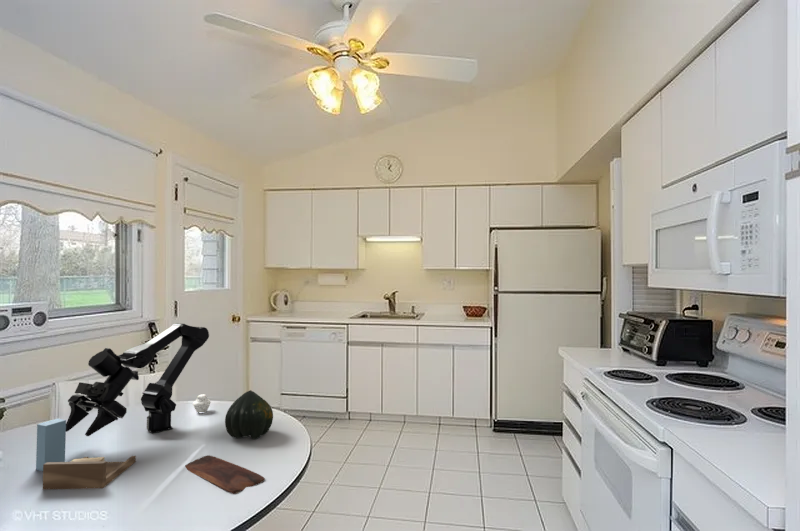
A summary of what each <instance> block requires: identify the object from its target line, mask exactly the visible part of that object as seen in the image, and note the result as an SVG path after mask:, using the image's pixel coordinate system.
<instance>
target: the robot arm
mask: <svg viewBox="0 0 800 531" xmlns="http://www.w3.org/2000/svg"><path fill="white" fill-rule="evenodd" d="M180 337H181V345H180V347H179V348H178V350H177V351H176V352H175V353H176V354H174V357H173V358H172V360H171V361H170V363H168V365H167V367H166V368H165V370H164V372H163V373H162V375H161V376H160V378H159V379H158V380H157V381H155V382H149V383H148V384H147V386H146V388H145V389H144V391H142V393H141V394H142V396H141V398H140V402H141V405H142V407H143V409H144V411H145V412H148V415H147V417H146V429H147V430H148V432H150V434H156V433H159V432H164V431H169V430H172V429H173V426H172V412H174V411H175V410H176V406H177V404H176V403H175V401H174V400H172V399H171V398H172V396H173V386H174V385H175V383H176V381H177V380H178V378H179V377H180V375H181V373H182V372H183V370H184V369H185V367H186V365H187V364H188V362H189V360H190V359H191V357H192V356H193V354H194V353H195V351H197V350H199V349H200V348H201V347H203V345H205V343H206V342H207V341H208V340H209V337H210V333H209V330H208V328H207V327H205V326H193V325H188V324H185V323H179V322H176V323H173V324H172V325H171V326H169V327H168V328H167V329H165V330H164V331H162V332H160V333H159V334H158V335H156V336H154V337H153V338H152V339H150V340H149V341H147V342H145V343H143V344H140V345H136V346H133V347H131V348H128V349H125V351H124V352H123V353H121V354H116V353H115V351H113V349H111V348H108V347H107V348H106V347H105V348H103V350H101V351H99V352H97V353H95V354H94V355H92V357H90V358H89V360H88V362H87V363H88V365H87V366H89V367H90V368H92V369H93V370H94V371H95V372H96V373H97V374H98V375H100V376H102V377H105V378H106V377H107V378H106V379H105V380H104V381H103V382H102V381H95V382H94V383H87V382H80V381H79V382H78V384H77V387H76V389H75V391H74V394H72V395H71V396H70V398H69V399H67V402H68V406H69V407H70V413H69V416H68V418H67V420H66V433H68V432H69V431H70V430H71V429H73V428H74V427H75V426H77V425H78V424H79V423H80V422H81V421H82V420H84V419H85V418H86V417H87V416H89V415H90V413H89V412H92V410H93V409H95V410H97V416H96V417H95V419H93V421H92V423H91V425H90V426H89V427H88V428H87V430H86V432H85V434H84V436H86V437H90V436H91V435H93V434H94V433H96V432H98V431H100V430H101V429H103V428H105V427H106V426H108V425H110V424H112V423H113V422H115V421H118V420H119V419H123V418H124V417H125V416H126V414H127V407H126V406H124V404H123V405H122V404H121V402H119V401H118V400H116V399H117V398H118V397H122V396H123V395H124V392H123V390H124V389H125V388H126V386H127V385H128V384H129V383H130V382H131V381H132V380H134V381H139V379H140V375H139V371H137V370H132V369H131V368H133V369H143V368H145V367H147V365H149V364H150V363H151V362H152V361H153V360H154V358H155V355H156V354H157V353H159V352H160V351H161V350H163V349H164V348H166V347H167V346H169V345H170V344H172V343H173V342H174V341H176V340H178V338H180Z"/></svg>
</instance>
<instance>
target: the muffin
mask: <svg viewBox="0 0 800 531" xmlns="http://www.w3.org/2000/svg"><path fill="white" fill-rule="evenodd" d="M192 405H193V408H194V410H195V411H196V413H197V412H205V413H207V412H206V411H208V409H209V408H210V407H211V399H209V398H208V396H207V394H202V393H201V394H199V395H197V397H196V398H195V400H194V401H193V402H192Z"/></svg>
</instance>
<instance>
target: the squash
mask: <svg viewBox="0 0 800 531" xmlns="http://www.w3.org/2000/svg"><path fill="white" fill-rule="evenodd" d="M273 421H274V413H273V409H272V406H271V405H270V403H268V402H267V401H266V400H265V399H264V398H263V397H262V396H260V395H259V394H257V393H256V392H254V391H252V390H251V389H250V390H248V391H246V392H244V393H243V394H242V395H240V396H239V397H238V398H237V399H236V400H235V401H234V402H233V403H232V404H231V405H230V407H229V408H228V410H227V412H226V414H225V418H224V425H225V429H226V431H227V433H228V434H229V436H230V437H232V438H233V439H242V438H248V437H250V438H251V439H252V440H257V439H259V438H260V437H261V436H264V435H266V434H267V433H268V432H269V430H270V429H271V427H272V424H273Z"/></svg>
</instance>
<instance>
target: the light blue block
mask: <svg viewBox="0 0 800 531" xmlns="http://www.w3.org/2000/svg"><path fill="white" fill-rule="evenodd" d="M66 423H67V420H66V419H63V418H54V419H51V420H47V421H44V422H40V423H37V424H36V449H35V450H36V452H35V457H36V458H35V459H36V460H35V470H37V471H40V472H43V464H45V463H47V462H66V441H67V440H66V436H67V434H66V433H67V432H66Z"/></svg>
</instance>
